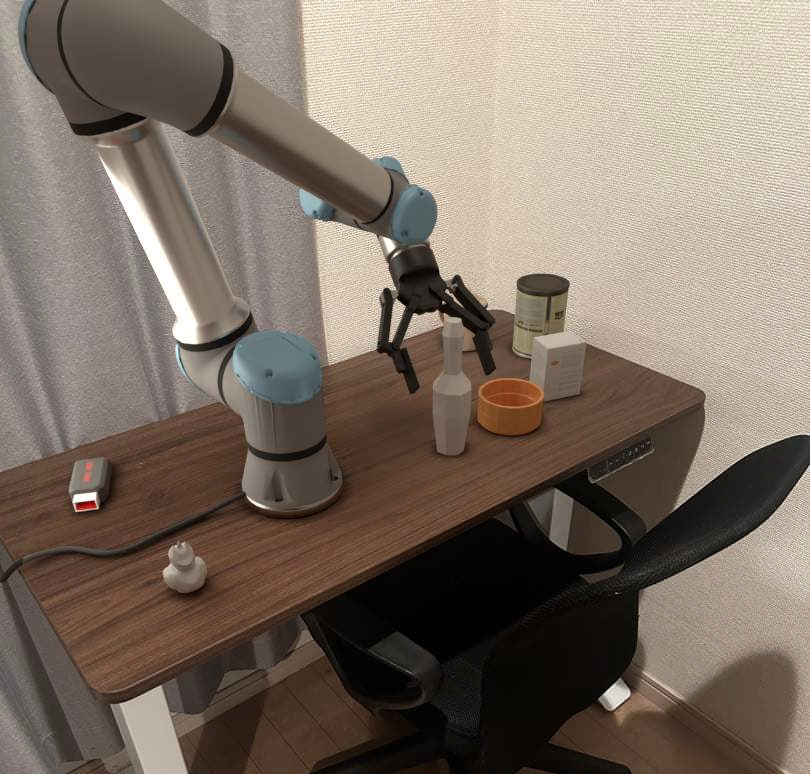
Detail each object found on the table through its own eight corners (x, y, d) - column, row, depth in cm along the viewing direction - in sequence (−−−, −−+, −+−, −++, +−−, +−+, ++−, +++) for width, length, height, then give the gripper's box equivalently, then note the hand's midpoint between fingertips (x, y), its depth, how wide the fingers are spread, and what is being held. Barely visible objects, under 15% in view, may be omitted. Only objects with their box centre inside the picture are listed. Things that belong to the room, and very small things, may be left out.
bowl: (506, 443, 126) (509, 414, 122) (463, 418, 133) (465, 389, 130) (554, 423, 131) (558, 395, 128) (510, 400, 138) (513, 372, 135)
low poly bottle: (438, 436, 128) (440, 310, 115) (474, 442, 126) (480, 315, 113) (426, 454, 123) (426, 325, 110) (462, 461, 122) (468, 330, 108)
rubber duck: (176, 606, 95) (163, 557, 90) (159, 578, 100) (146, 529, 95) (216, 590, 97) (206, 542, 93) (198, 563, 102) (187, 515, 97)
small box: (564, 382, 144) (571, 329, 137) (580, 395, 139) (588, 341, 133) (527, 389, 141) (532, 336, 135) (542, 402, 137) (548, 348, 131)
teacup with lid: (494, 343, 158) (498, 288, 151) (465, 356, 154) (468, 300, 146) (453, 328, 165) (454, 274, 158) (424, 340, 160) (424, 285, 153)
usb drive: (112, 467, 122) (107, 452, 120) (106, 509, 112) (101, 494, 111) (78, 471, 121) (73, 457, 119) (69, 514, 111) (64, 499, 110)
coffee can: (519, 336, 161) (525, 270, 152) (567, 344, 158) (575, 276, 149) (504, 355, 154) (509, 286, 145) (554, 363, 150) (562, 293, 142)
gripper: (468, 257, 127) (510, 373, 125) (331, 281, 118) (374, 407, 117) (486, 232, 120) (531, 355, 118) (342, 256, 111) (388, 389, 109)
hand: (453, 381), depth 117 cm, fingers open, 13 cm apart
